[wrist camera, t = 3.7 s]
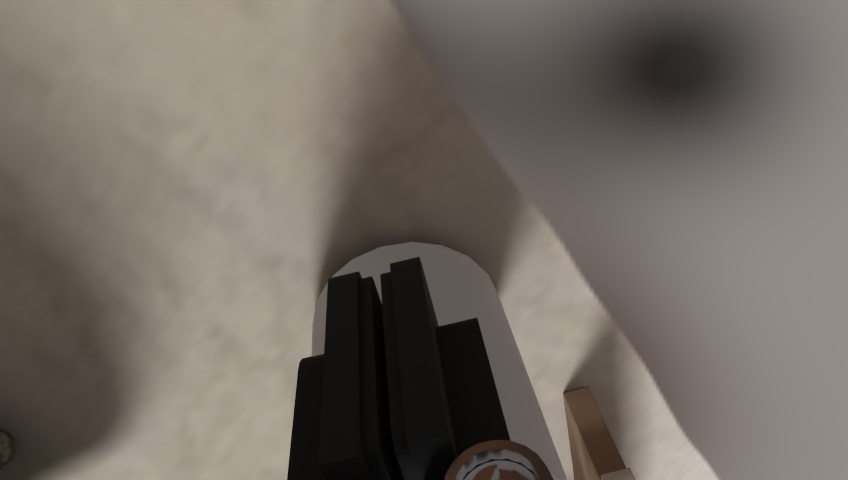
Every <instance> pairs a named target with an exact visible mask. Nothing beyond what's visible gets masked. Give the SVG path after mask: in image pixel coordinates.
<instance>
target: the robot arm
mask: <svg viewBox="0 0 848 480" xmlns="http://www.w3.org/2000/svg"><path fill="white" fill-rule="evenodd" d="M380 280H381V294H382V303H381V300H380V297H379V294H378V291H377V288H376V285H375V282H374V280H373V278H372V276H370V277H366V278H362V276H361V274H360V272H358V271H357V272H353V273H349V274H345V275H340V276H336V277H332V278H329V279H328V288H327V307H326V326H325V345H324V354H320V355H316V356H312V357H308V358H303V359H302V360H301V361H300V364H299V369H298V378H297V388H296V398H295V408H294V418H293V428H292V438H291V448H290V458H289V468H288V478H287V480H554V479H553V477H552V475H551V473H550V471H549V469H548V468H547V466H546V464H545V463H544V462H543V460H542V459H541V458H540V456H539V455H538V454H537V453H535V452H534V451H533V450H531V449H530V448H528V447H527V446H525V445H523V444H520V443H516V442H513V441H511V440H510V436H509V433H508V429H507V425H506V422H505V418H504V414H503V410H502V407H501V403H500V399H499V396H498V392H497V388H496V385H495V381H494V377H493V374H492V370H491V366H490V362H489V359H488V355H487V351H486V348H485V344H484V340H483V337H482V333H481V329H480V326H479V322H478V319H477V318H472V319H468V320H464V321H460V322H455V323H451V324H447V325H443V326H439V325H438V321H437V318H436V314H435V310H434V307H433V303H432V299H431V296H430V292H429V288H428V285H427V281H426V277H425V274H424V270H423V266H422V263H421V260H420V257H415V258H411V259H407V260H403V261H399V262H394V263H390V272H387V273H383V274H381V275H380Z"/></svg>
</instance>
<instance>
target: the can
mask: <svg viewBox="0 0 848 480" xmlns="http://www.w3.org/2000/svg"><path fill="white" fill-rule="evenodd" d="M415 257H420V260H421V263H422V266H423V270H424V274H425V277H426V281H427V285H428V288H429V292H430V296H431V299H432V303H433V307H434V310H435V314H436V318H437V321H438V325H439V326H443V325H447V324H451V323H455V322H460V321H464V320H468V319H472V318H477V319H478V322H479V326H480V329H481V333H482V337H483V340H484V344H485V348H486V351H487V355H488V359H489V362H490V366H491V370H492V374H493V377H494V381H495V385H496V388H497V392H498V396H499V399H500V403H501V407H502V410H503V414H504V418H505V422H506V425H507V429H508V433H509V436H510V440H511V441H513V442H516V443H520V444H523V445H525V446H527V447H528V448H530V449H531V450H533V451H534V452H535V453H537V454H538V455H539V456H540V458H541V459H542V460H543V462H544V463H545V464H546V466H547V468H548V469H549V471H550V473H551V475H552V477H553V479H554V480H567V479H566V476H565V473H564V470H563V468H562V465H561V462H560V460H559V457H558V454H557V452H556V449H555V446H554V444H553V441H552V438H551V436H550V433H549V430H548V428H547V425H546V422H545V419H544V417H543V414H542V411H541V409H540V406H539V403H538V401H537V398H536V395H535V393H534V390H533V387H532V385H531V382H530V379H529V377H528V374H527V371H526V369H525V366H524V363H523V360H522V358H521V355H520V352H519V350H518V347H517V344H516V342H515V339H514V336H513V334H512V331H511V328H510V326H509V323H508V320H507V318H506V315H505V312H504V309H503V307H502V304H501V301H500V299H499V296H498V294H497V292H496V290H495V287H494V285H493V283H492V281H491V279H490V277H489V275H488V273H487V272H486V271H484V270H483V269H482V268H481V267H480V266H479V265H478V264H477V263H476V262H474V261H473V260H472V259H471V258H470V257H469V256H467V255H464V254H462V253H460V252H457V251H455V250H453V249H450V248H448V247H445V246H443V245H436V244H427V243H418V242H407V243H401V244H395V245H388V246H382V247H379V248H376V249H374V250H372V251H370V252H367V253H365V254H363V255H361V256H359V257H356V258H354V259H352V260H351V261H349V262H348V263H347V264H346V265H345V266H344V267H342V268H341V269H340V270H339V271H338V272H337V273H335V274H334V275H333V276H332V277H336V276H340V275H345V274H349V273H353V272H357V271H358V272H360V274H361V276H362V278H366V277H370V276H372V278H373V280H374V282H375V285H376V288H377V291H378V294H379V297H380V300H381V303H382V294H381V280H380V275H381V274H383V273H387V272H390V263H394V262H399V261H403V260H407V259H411V258H415ZM332 277H331V278H332ZM327 288H328V282H327V284H326V285H325V287H324V289H323V291H322V292H321V294H320V296H319V297H318V299H317V301H316V306H315V313H314V320H313V331H312V356H316V355H320V354H324V345H325V326H326V307H327Z"/></svg>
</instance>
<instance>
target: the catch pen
mask: <svg viewBox="0 0 848 480" xmlns="http://www.w3.org/2000/svg"><path fill="white" fill-rule="evenodd" d="M563 395H564V403H565V410H566V418H567V425H568V433H569V440H570V448H571V455H572V463H573V471H574V478H575V480H635V478H634V476H633V474H632V472H631V469H630V468H627V469H626V467H625V465H624V463H623V460H622V458H621V456H620V454H619V452H618V450H617V448H616V446H615V444H614V442H613V439H612V437H611V435H610V433H609V431H608V429H607V427H606V425H605V423H604V420H603V418H602V416H601V414H600V412H599V410H598V408H597V406H596V404H595V401H594V399H593V397H592V395H591V393H590V391H589V389H588V387H585V388H582V389H578V390H574V391H570V392H566V393H563Z"/></svg>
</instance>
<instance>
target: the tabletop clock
mask: <svg viewBox="0 0 848 480" xmlns="http://www.w3.org/2000/svg"><path fill="white" fill-rule="evenodd" d="M15 454H16V442H15V439H14V438H13V437H12V436H11V435H10V434H8V433H6V432H2V431H0V470H2V469H4V468H5V467H6V466H8V465H9V464H10V463H11V461H12V460H13V459H14V456H15Z"/></svg>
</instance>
